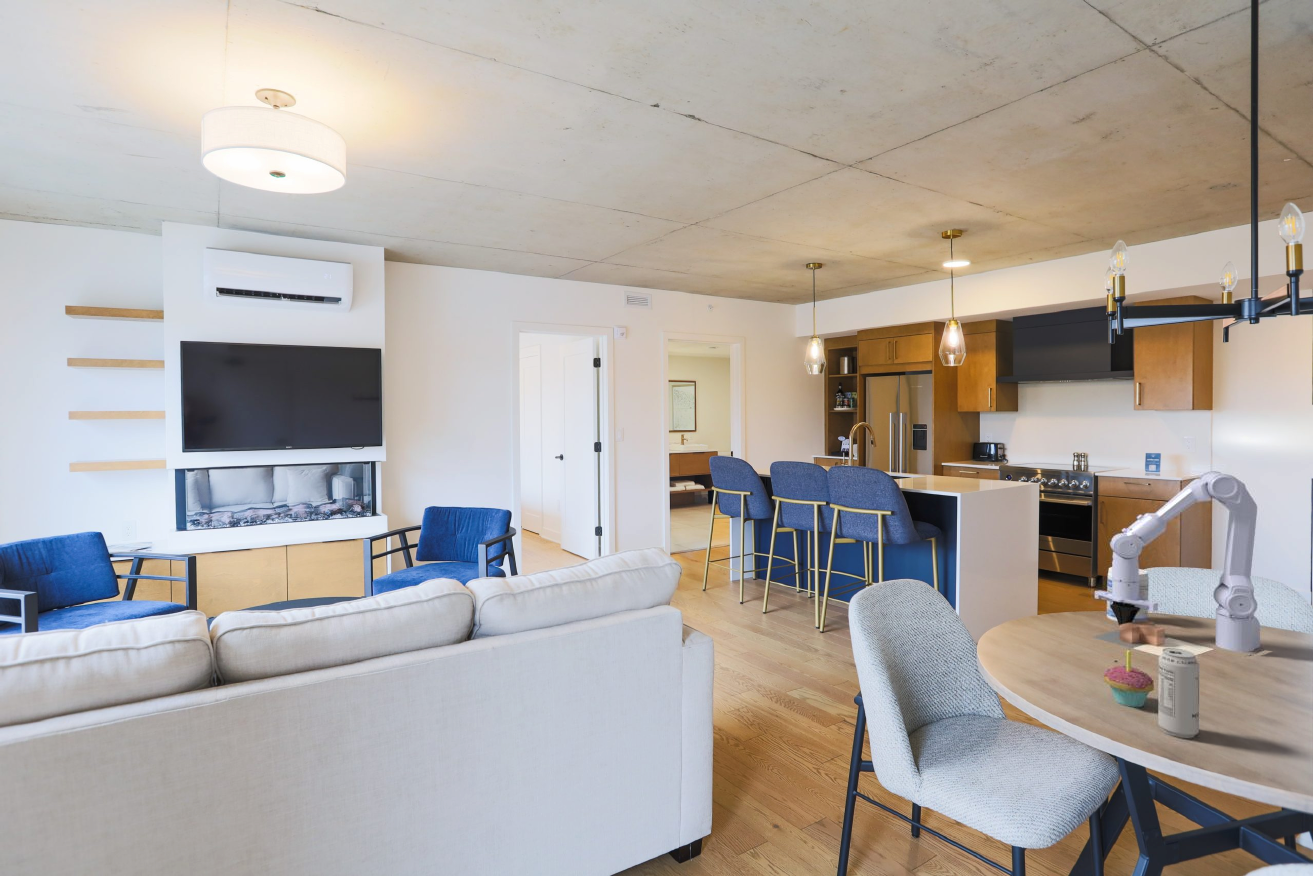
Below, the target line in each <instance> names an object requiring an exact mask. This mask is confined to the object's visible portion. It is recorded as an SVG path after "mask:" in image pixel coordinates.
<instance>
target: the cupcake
mask: <svg viewBox="0 0 1313 876" xmlns="http://www.w3.org/2000/svg"><path fill="white" fill-rule="evenodd" d="M1127 649H1128V650H1126V665H1118V666H1114V667H1111V668H1108V669H1107V670H1106V671H1105V672H1104V673H1103V681H1104V682H1105V683H1107V685H1109V687H1110V689H1111V691H1112V693H1113V694H1112V695H1113V696H1114V699H1115V702H1116V703H1118V704H1120V705H1123V706H1126V707H1127V706H1128V707H1130V708H1140V707H1143V706H1144V704H1145V701H1146V699H1147V696H1148V695H1149V693H1150V692H1152V691H1154V690H1155V685H1154V683H1155V682H1154V679H1152V677H1151V676H1149V674H1148V673H1146V672H1143V670H1139V668H1136V667H1132V662H1131V661H1132V650H1131V649H1130V647H1127Z"/></svg>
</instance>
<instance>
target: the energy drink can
mask: <svg viewBox="0 0 1313 876" xmlns="http://www.w3.org/2000/svg"><path fill="white" fill-rule="evenodd" d="M1157 680H1158V687H1157V688H1158V702H1157V703H1158V707H1157V708H1158V709H1157V710H1158V711H1157V712H1158V715H1157V716H1158V720H1157V723H1158V725H1159V726H1160V727H1161V730H1162V731H1163V732H1164V733H1165V734H1167V735H1170V736H1172V737H1176V738H1181V739H1193V738H1195V737H1196V735H1197V734H1199V732H1200V663H1199V662H1198V660H1197V658H1196V655H1195V654H1194V653H1192V652H1190V651H1187V650H1182V649H1176V648H1165V649H1163V653H1162V654H1161V655H1160V656H1158V679H1157Z"/></svg>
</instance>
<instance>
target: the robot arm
mask: <svg viewBox="0 0 1313 876" xmlns="http://www.w3.org/2000/svg"><path fill="white" fill-rule="evenodd" d="M1212 499H1214V500H1216V501H1218V502H1219V503H1220V504H1221V505H1222V506H1224V507H1225V508H1226V509H1227V510H1228V511H1229V512H1228V514H1229V515H1228V524H1227V533H1226V535H1227V536H1226V546H1225V555H1224V566H1223V573H1221V575H1220V577H1219V581H1218V585H1217V586H1216V587H1215V588H1214V590H1213V593H1212V594H1213V596H1212V597H1213V599H1214V601H1215V602H1216V604H1217V605H1218V606H1217V608H1216V609H1215V646H1217V647H1219V648H1221V649H1223V650H1227V651H1232V652H1239V653H1240V652H1241V653H1251V652H1253V651H1254V650H1255V649H1257V648H1260V647H1261V624H1260V621H1259V618H1257V617H1256V616H1255V613H1256V611H1257V609H1258V602H1257V599H1256V598H1255V595H1254V591H1255V588H1254V585H1253V582H1252V579H1251V573H1252V566H1253V565H1252V564H1253V556H1254V546H1255V535H1256V526H1257V517H1258V516H1257V514H1258V504H1257V503H1256V501H1255V500H1254V498H1253V497H1252V496H1251V494H1250V493H1249V491H1248V490H1247V487H1246V484H1245V483H1243V482H1242V481H1241V480H1239V479H1238V478H1236V477H1235V476H1233V475H1232V474H1227V473H1222V472H1220V471H1214V470H1211V471H1207V472H1204V473H1203V474H1201V475H1200V477H1199V478H1195V479H1194V480H1192V481H1191V482H1189V484H1188V485H1186V486H1184V488H1183V489H1181V490H1180V491H1179V492H1177V494H1176V495H1175V496H1173V497H1172V498H1171V499H1170V500H1169V501H1168V502H1166V503H1165V504H1164V505H1163V506H1162V507H1160V508H1159V509H1158V510H1157V511H1156V512H1154V513H1152V512H1151V513H1150V512H1146V513H1145V514H1144V515H1143V514H1138V516H1136V519H1137V520H1135V522H1133V523H1132V524H1131V525H1130V526H1128V527H1127V528H1126V527H1124V528H1122V529H1121V533H1117V534H1115V535H1113V537H1112V538H1111V541H1110V542H1109V545H1110V549H1111V550H1112V561H1111V564H1112V566H1111V567H1112V592H1107V591H1105V590H1099V589H1098V590H1095V591H1094V599H1096V600H1104V601H1107V600H1108V601H1113V603H1112V604H1111V605H1110V608H1111V609H1112V611H1113V612H1114V614H1115V616H1116V618H1117V621H1116V622H1117V624H1118V626H1119V625H1122V624H1126V623H1129V622H1133V620H1134V618H1135V616H1136V614H1137V613H1138V611H1139V610H1140V608H1144V609H1148V611H1149V612H1150V611H1151V612H1157V611H1158V610H1159V603H1158V602H1156V601H1155V602H1154V601H1152V600H1149V599H1148V600H1146V599H1143V598H1139V569H1140V568H1139V556H1140V555H1141V553H1142V552H1143V551H1142V550H1143V547H1146V546H1147V545H1148V544H1150V543H1151V542H1153V540H1155V539H1157V538H1158V537H1159V536H1161V534H1163V533H1165V531H1166V530H1167V523H1168V522H1169V521H1171V520H1172V519H1174V518H1175V517H1176V516H1178V515H1179V514H1181V513H1183V512H1184V511H1185V510H1186V509H1188V508H1190V507H1191V506H1193V504H1195V503H1196V504H1197V503H1202V502H1203V503H1204V502H1211V501H1212ZM1264 651H1265V649H1263V650H1260V651H1258V652H1257V651H1256V652H1254V653H1251V654H1249V655H1246V656H1247V657H1250V656H1253V655H1255V654H1258V653H1261V652H1264ZM1246 656H1244V657H1245V658H1246Z"/></svg>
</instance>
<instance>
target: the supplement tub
mask: <svg viewBox="0 0 1313 876" xmlns="http://www.w3.org/2000/svg"><path fill="white" fill-rule="evenodd" d="M1107 572H1108V573H1107V587H1106V588H1107V591H1106V592H1112V566H1111V567H1109V568H1108V571H1107ZM1149 585H1150V582H1149V572H1148V571H1147V570H1145V569H1140V568H1139V598H1143V599H1146V600H1149ZM1112 603H1113V601H1108V600H1106V617H1107V619H1109V620H1112V621H1115V622H1118V621H1117V618H1116V616H1115V614H1114V612H1113V611H1112V609H1111V608H1110V605H1111V604H1112ZM1148 612H1149V610H1148V609H1144V608H1140V610H1139V611H1138V613H1137V614H1136V616H1135V618H1134V620H1133V621H1137V620H1141V619H1143V620H1147V621H1148V618H1149V616H1148V615H1149V614H1148Z"/></svg>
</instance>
